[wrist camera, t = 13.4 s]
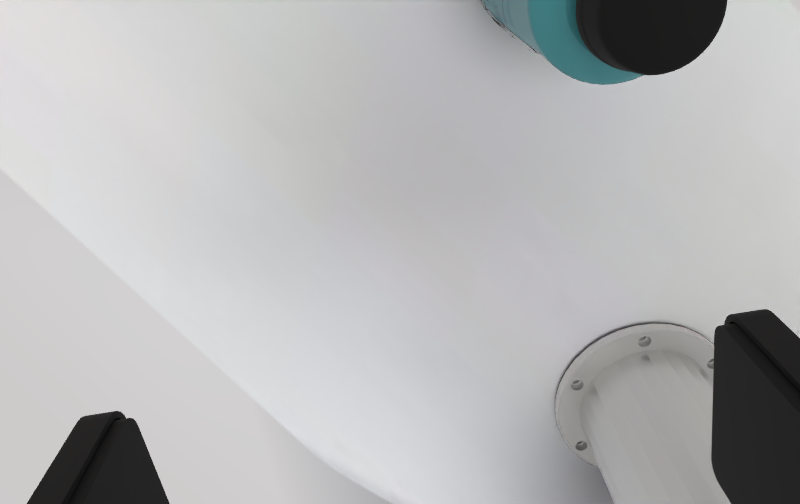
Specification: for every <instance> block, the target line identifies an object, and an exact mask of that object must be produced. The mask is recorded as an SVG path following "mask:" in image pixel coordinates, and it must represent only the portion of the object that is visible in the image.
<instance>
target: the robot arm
mask: <svg viewBox="0 0 800 504" xmlns="http://www.w3.org/2000/svg"><path fill="white" fill-rule="evenodd" d="M555 414H556V419H557V423H558V426H559V429H560V431H561V434H562V436H563V438H564V440H565V442H566V443H567V445H568V446H569V448H570V449H571V450H572V451H573V452H574V453H575V454H576V455H577V456H578V457H580V458H581V459H583V460H584V461H586V462H588V463H589V464H591V465H594V466H596V467H599V469H600V471H601V474H602V476H603V478H604V481H605V483H606V486H607V488H608V490H609V493H610V495H611V497H612V500H613V502H614V504H800V338H799V337H798V336H797V335H796V334H795V333H794V332H792V331H791V330H790V329H789V328H788V327H787V326H786V325H785V324H784V323H783V322H782V321H781V320H780V319H779V318H778V317H777V316H776V315H775V314H774V313H772V312H771V311H769V310H766V309H763V310H756V311H750V312H744V313H737V314H731V315H729V316H727V318H726V320H725V325H721V326H718V327H716V330H715V335H714V345H713V344H712V343H711V342H710V341H708V340H707V339H706V338H704V337H703V336H701V335H700V334H698V333H696V332H694V331H692V330H689V329H687V328H684V327H680V326H675V325H671V324H644V325H636V326H632V327H629V328H625V329H622V330H618V331H616V332H614V333H612V334H609V335H607V336H605V337H603V338H601V339H600V340H598V341H597V342H595V343H594V344H592V345H591V346H589V347H588V348H587V349H585V350H584V351H583V352H582V353H581V354H580V355H579V356H578V357H577V358H576V359H575V360H574V361H573V363H572V364H571V365H570V367H569V368H568V369H567V371H566V372H565V374H564V376H563V378H562V380H561V382H560V384H559V387H558V391H557V395H556V399H555ZM27 504H169V501H168V499H167V496H166V494H165V491H164V489H163V486H162V484H161V481H160V479H159V477H158V474H157V472H156V469H155V467H154V465H153V462H152V459H151V457H150V455H149V452H148V449H147V447H146V444H145V442H144V439H143V437H142V435H141V432H140V429H139V427H138V425H137V423H136V421H135V420H134V419H132V418H127V419H126V417H125V416H124V415H123V414H122V413H121V412H119V411H114V412H108V413H101V414H95V415H89V416H84V417H82V418H80V420H79V421H78V422H77V424H76V425H75V427H74V428H73V430H72V432H71V433H70V435H69V437H68V438H67V440H66V442H65V443H64V444H63V446H62V448H61V450H60V451H59V453H58V454H57V456H56V457H55V459H54V461H53V462H52V464H51V466H50V467H49V469H48V470H47V472H46V474H45V475H44V477H43V478H42V480H41V482H40V483H39V485H38V487H37V488H36V490H35V491H34V493H33V495H32V496H31V498H30V499H29V501H28V503H27Z"/></svg>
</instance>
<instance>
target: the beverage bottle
mask: <svg viewBox="0 0 800 504" xmlns="http://www.w3.org/2000/svg"><path fill="white" fill-rule="evenodd" d="M480 1H481V0H480ZM483 1H484V3H485V5H486V6H487V8H488V10H489V11H490V12H491V14H492V15H493V16H494V17H495V18H496V19H497V20H498V21H500V23H502V24H503V26H505V29H506V27H507V28H508V29H509V30H510V31H511V32H512V33H514V34H515V35H516V36H517V37H518V38H520V39H521V40H522V41H523V42H525V43H526V44H527V45H528V46H529V47H530V46H531V47H533V48H534V49H535V50H537V51H538V52H539V54H540V53H541V54H542V55H543V56H545V58H546V59H547V60H548V61H549V62H550V63H551V64H552V65H553V66H554V67H556V68H557V69H558V70H560V71H561V72H563V73H564V74H566V75H568V76H570V77H572V78H574V79H577V80H579V81H582V82H587V83H591V84H601V85H605V84H617V83H622V82H626V81H630V80H633V79H636V78H638V77H640V76H642V75H659V74H665V73H668V72H672V71H675V70H677V69H679V68H682V67H683V66H685V65H687V64H689V63H690V62H692V61H693V60H694V59H696V58H697V57H698V56H699V55H700V54H701V53H703V51H704V50H705V49H706V48H707V47H708V46H709V45H710V43H711V42H712V41H713V39H714V38H715V36H716V34H717V33H718V31H719V28H720V26H721V24H722V21H723V18H724V15H725V11H726V6H727V0H483ZM484 3H482V4H484ZM485 5H484V6H485ZM485 8H486V7H485ZM485 8H484V9H485ZM486 10H487V9H486ZM487 13H488V12H487ZM488 15H489V14H488ZM492 19H493V20H494V21H495V22H496V23H497V24H499V23H498V22H497V21H496V20H495V19H494V18H492ZM502 24H501V25H502ZM501 25H500V24H499V26H501ZM503 26H501V27H503ZM505 29H504V30H505ZM512 33H511V34H512ZM512 37H513V36H512ZM533 48H532V49H533ZM534 49H533V50H534ZM528 50H529V49H528ZM535 50H534V51H535ZM535 53H536V51H535Z"/></svg>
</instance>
